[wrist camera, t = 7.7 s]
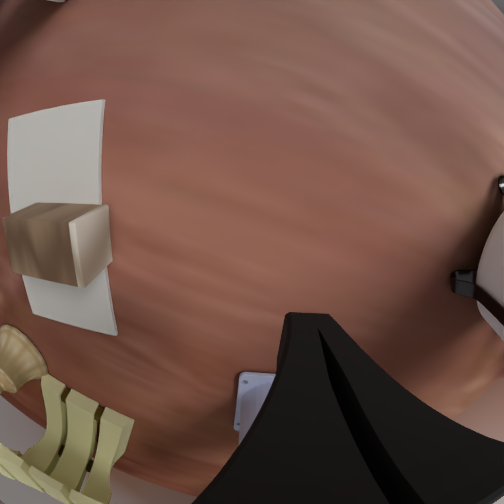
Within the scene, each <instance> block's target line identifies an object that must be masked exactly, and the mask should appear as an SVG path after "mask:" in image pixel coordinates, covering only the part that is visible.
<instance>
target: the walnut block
mask: <svg viewBox="0 0 504 504" xmlns="http://www.w3.org/2000/svg"><path fill="white" fill-rule="evenodd" d="M3 225H4V231H5V237H6V243H7V248H8V253H9V258H10V262H11V267H12V271H13V273H17V274H21V275H25V276H30V277H34V278H38V279H43V280H47V281H52V282H56V283H61V284H66V285H71V286H76V287H81V288H86V286H87V285H88V284H89V283H90V282H91V281H92V280H93V279H94V278H95V277H96V276H97V275H98V274H99V273H100V272H101V271H102V270H104V269H105V268H106V267H107V266H108V265H109V264H110V263H111V262H112V250H111V239H110V225H109V205H98V204H75V203H40V202H37V203H34V204H32V205H30V206H27V207H25V208H23V209H21V210H18V211H16V212H14V213H12V214H10V215H7V216H5V217H3Z"/></svg>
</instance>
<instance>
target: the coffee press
mask: <svg viewBox="0 0 504 504" xmlns="http://www.w3.org/2000/svg"><path fill="white" fill-rule="evenodd" d="M498 184H499V188H500V190H501V192H502V193H503V195H504V175H502V176H500V177H499V179H498ZM475 283H476V284H475ZM451 290H452V292H453V293H455V294H460V295H465V296H469V297H472V298H474V299H476V300H477V305H478V309H479V311H480V313H481V315H482V317H483V318H484V319H485V320H486V322H487V323H488V324H489V325H490V326H491V327H492V328H493V329H494V331H495V332H496V333H497V334H498V335H499V336H500V337H501V338H502V340H503V341H504V211H503V213H502V214H501V215H500V217H499V218H498V220H497V221H496V223H495V225H494V226H493V228H492V230H491V232H490V234H489V236H488V239H487V241H486V244H485V246H484V249H483V252H482V255H481V258H480V262H479V266H478V269H475V270H456V271H454V272H453V273H452V274H451Z"/></svg>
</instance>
